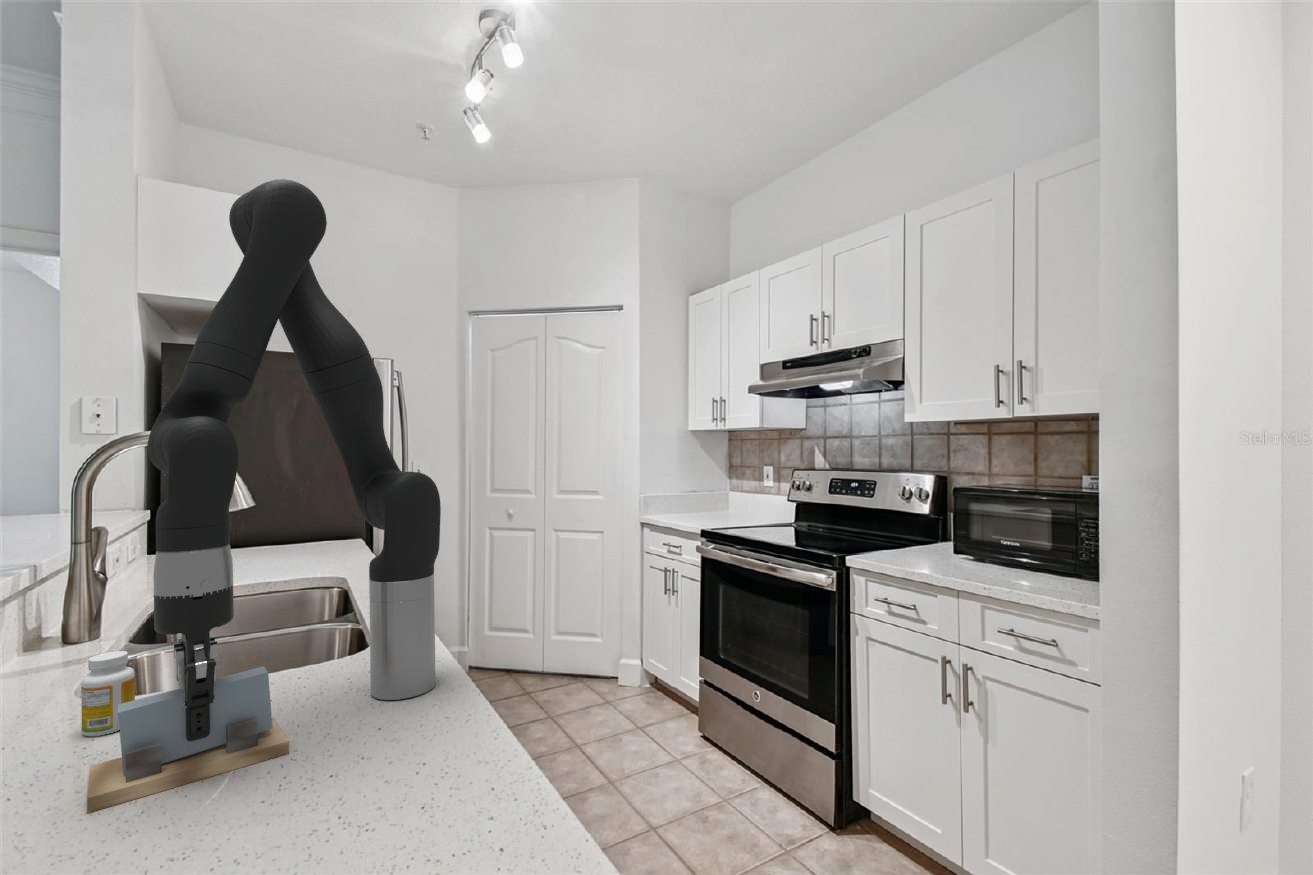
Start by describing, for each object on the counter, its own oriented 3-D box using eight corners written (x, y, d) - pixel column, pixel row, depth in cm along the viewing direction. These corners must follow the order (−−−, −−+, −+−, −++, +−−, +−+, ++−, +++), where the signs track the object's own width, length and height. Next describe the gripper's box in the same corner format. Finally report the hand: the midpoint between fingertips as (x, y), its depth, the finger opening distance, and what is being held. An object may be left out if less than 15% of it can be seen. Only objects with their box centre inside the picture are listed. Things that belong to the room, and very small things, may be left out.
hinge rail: (274, 729, 82) (274, 694, 82) (289, 753, 75) (288, 715, 75) (89, 779, 70) (89, 738, 70) (87, 813, 63) (87, 768, 63)
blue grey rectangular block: (268, 720, 79) (263, 666, 79) (272, 728, 77) (268, 672, 76) (123, 766, 70) (117, 704, 69) (123, 776, 67) (118, 712, 67)
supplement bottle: (125, 716, 87) (125, 646, 87) (142, 724, 84) (141, 652, 84) (74, 732, 82) (74, 658, 82) (90, 741, 79) (90, 664, 79)
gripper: (150, 582, 76) (152, 724, 75) (156, 602, 65) (159, 767, 65) (225, 573, 81) (227, 706, 80) (241, 590, 70) (244, 743, 70)
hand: (196, 732), depth 73 cm, fingers closed on blue grey rectangular block, 3 cm apart
